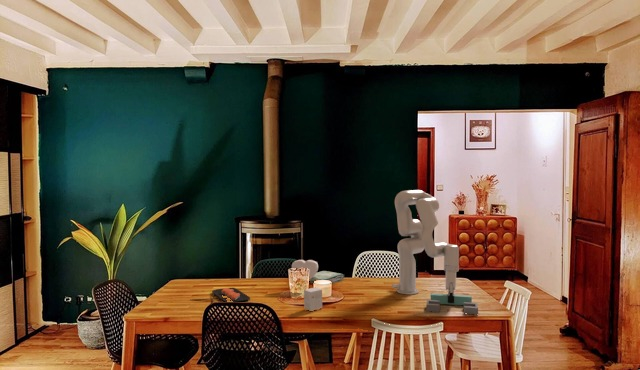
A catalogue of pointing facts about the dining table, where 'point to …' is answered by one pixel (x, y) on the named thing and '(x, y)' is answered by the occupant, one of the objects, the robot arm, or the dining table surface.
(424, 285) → the dining table surface
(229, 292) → the sushi plate
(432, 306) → the end caps
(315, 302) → the small box
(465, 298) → the slat
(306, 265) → the heart sculpture
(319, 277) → the towel
